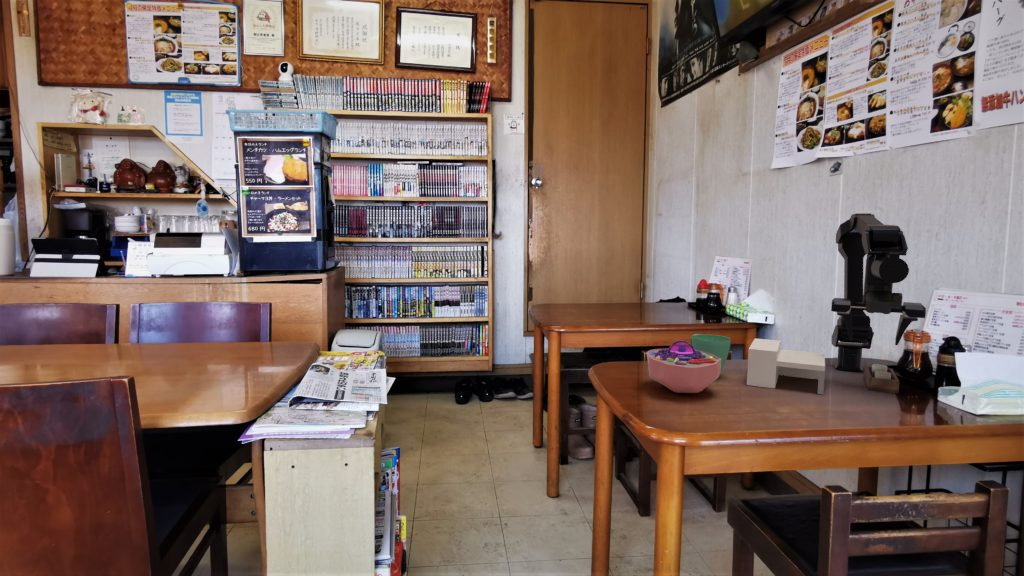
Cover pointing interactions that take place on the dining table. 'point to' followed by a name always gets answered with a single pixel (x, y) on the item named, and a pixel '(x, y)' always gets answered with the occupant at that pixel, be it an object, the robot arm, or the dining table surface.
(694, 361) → the cell model
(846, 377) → the dining table surface
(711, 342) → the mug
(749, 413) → the dining table surface
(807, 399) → the dining table surface
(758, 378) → the counter
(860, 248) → the robot arm
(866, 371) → the tray
